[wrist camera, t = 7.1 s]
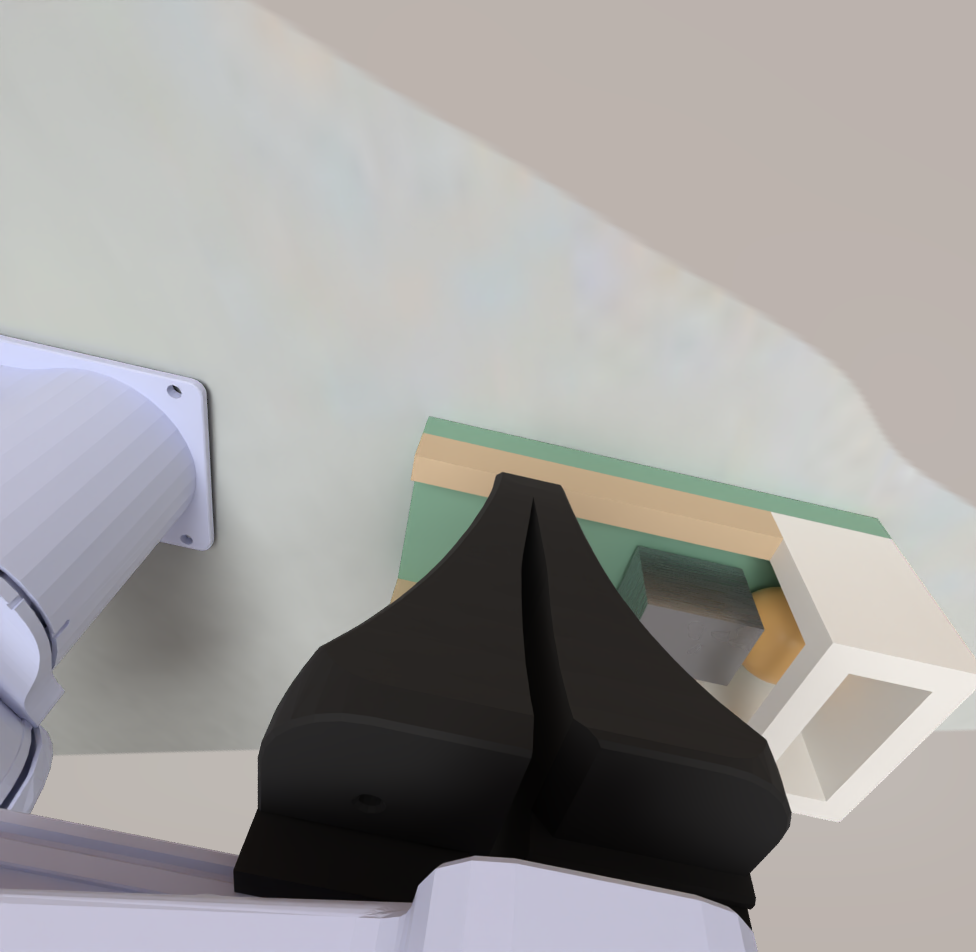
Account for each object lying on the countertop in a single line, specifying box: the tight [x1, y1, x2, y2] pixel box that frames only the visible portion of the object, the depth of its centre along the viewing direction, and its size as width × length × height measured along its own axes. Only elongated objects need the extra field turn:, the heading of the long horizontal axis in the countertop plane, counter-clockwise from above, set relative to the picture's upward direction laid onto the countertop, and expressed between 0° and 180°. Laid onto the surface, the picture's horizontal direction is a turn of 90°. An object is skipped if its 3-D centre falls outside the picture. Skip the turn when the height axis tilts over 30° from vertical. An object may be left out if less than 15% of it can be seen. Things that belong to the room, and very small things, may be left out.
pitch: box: [390, 416, 976, 822], centre depth 22 cm, size 17×8×7 cm, turn 78°
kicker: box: [618, 546, 765, 686], centre depth 23 cm, size 4×3×3 cm
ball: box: [742, 587, 805, 685], centre depth 23 cm, size 4×4×4 cm
